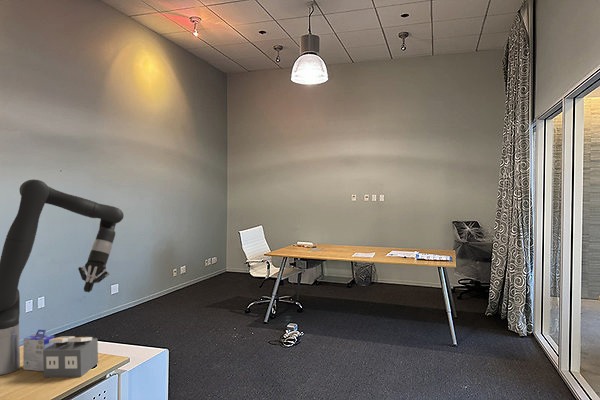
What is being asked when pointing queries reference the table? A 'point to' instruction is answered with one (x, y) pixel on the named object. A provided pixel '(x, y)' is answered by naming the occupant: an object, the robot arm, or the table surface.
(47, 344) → the ink cartridge box
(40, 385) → the table surface
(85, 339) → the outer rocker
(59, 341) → the inner rocker
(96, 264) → the robot arm
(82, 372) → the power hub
